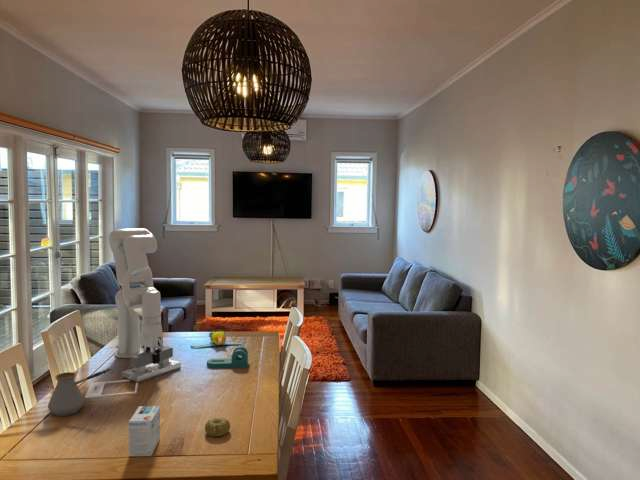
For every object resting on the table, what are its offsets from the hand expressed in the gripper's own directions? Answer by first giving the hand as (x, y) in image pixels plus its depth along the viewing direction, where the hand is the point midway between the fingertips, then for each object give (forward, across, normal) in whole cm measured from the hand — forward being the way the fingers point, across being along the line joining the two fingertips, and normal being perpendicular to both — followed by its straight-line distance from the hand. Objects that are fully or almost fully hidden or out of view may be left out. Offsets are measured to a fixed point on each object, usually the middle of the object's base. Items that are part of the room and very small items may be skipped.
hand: (152, 361), depth 208 cm
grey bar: (+3, 0, 0) cm, 3 cm away
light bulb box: (+6, +50, -41) cm, 65 cm away
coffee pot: (+6, +10, -38) cm, 39 cm away
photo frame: (+6, +1, -19) cm, 20 cm away
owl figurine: (+6, -8, +47) cm, 48 cm away
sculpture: (+6, +61, -22) cm, 65 cm away
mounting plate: (+5, 0, 0) cm, 5 cm away
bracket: (+6, +18, +26) cm, 32 cm away
